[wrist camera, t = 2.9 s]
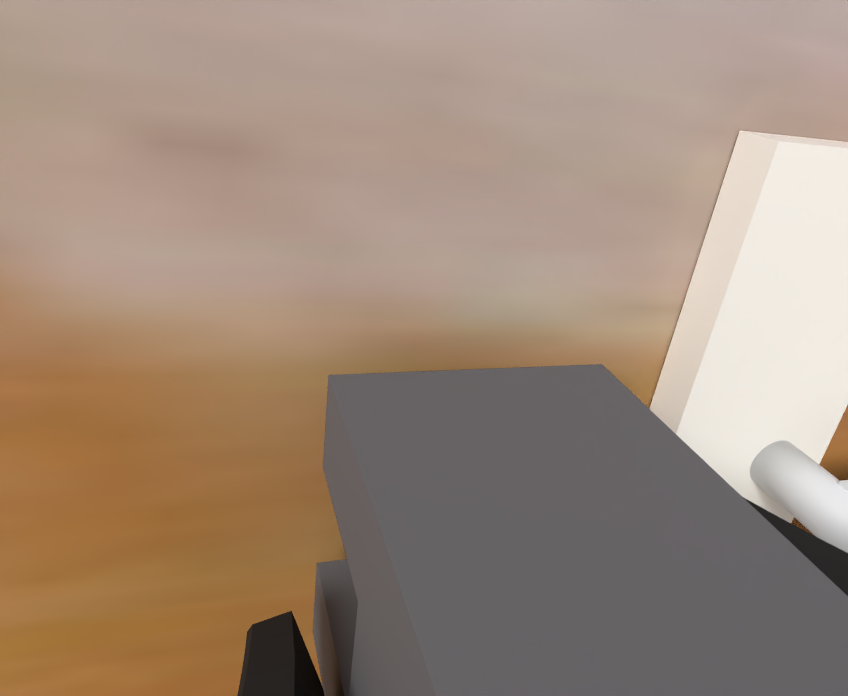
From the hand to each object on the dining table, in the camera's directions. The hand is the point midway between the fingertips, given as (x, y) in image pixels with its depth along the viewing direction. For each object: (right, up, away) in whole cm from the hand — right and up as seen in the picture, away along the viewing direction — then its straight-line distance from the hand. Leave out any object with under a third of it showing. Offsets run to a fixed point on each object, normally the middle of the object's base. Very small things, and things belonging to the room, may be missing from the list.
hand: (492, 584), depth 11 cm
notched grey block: (-1, +1, +2) cm, 2 cm away
